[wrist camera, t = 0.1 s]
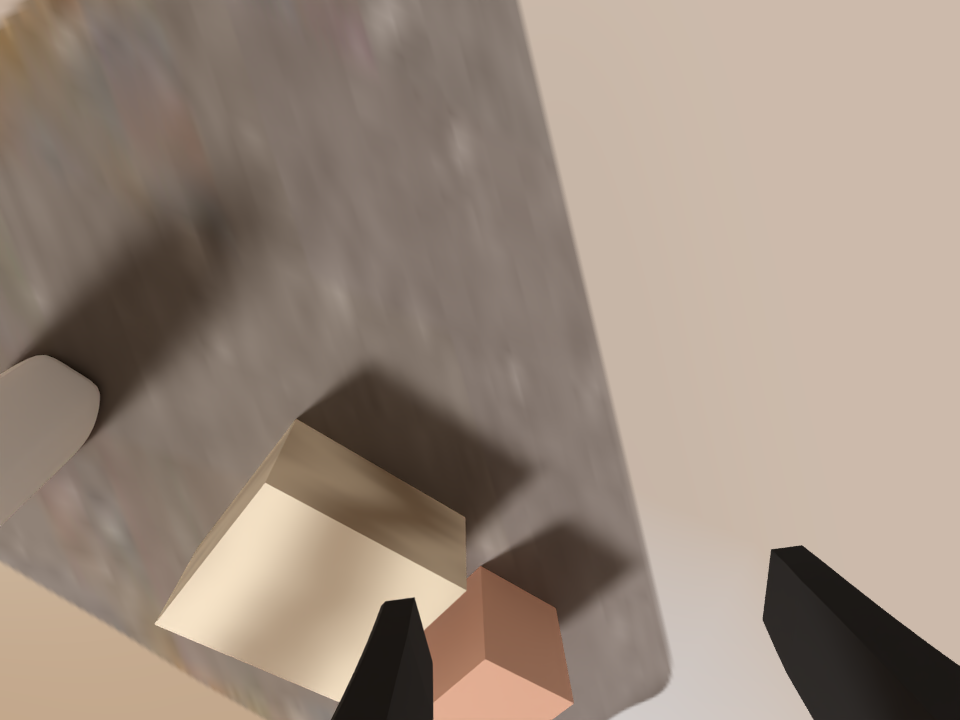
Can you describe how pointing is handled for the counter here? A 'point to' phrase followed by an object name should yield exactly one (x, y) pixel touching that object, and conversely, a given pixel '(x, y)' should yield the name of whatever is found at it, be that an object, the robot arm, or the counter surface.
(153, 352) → the counter surface
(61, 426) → the eye dropper bottle
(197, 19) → the counter surface
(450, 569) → the birch block
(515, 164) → the counter surface
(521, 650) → the terracotta cube
